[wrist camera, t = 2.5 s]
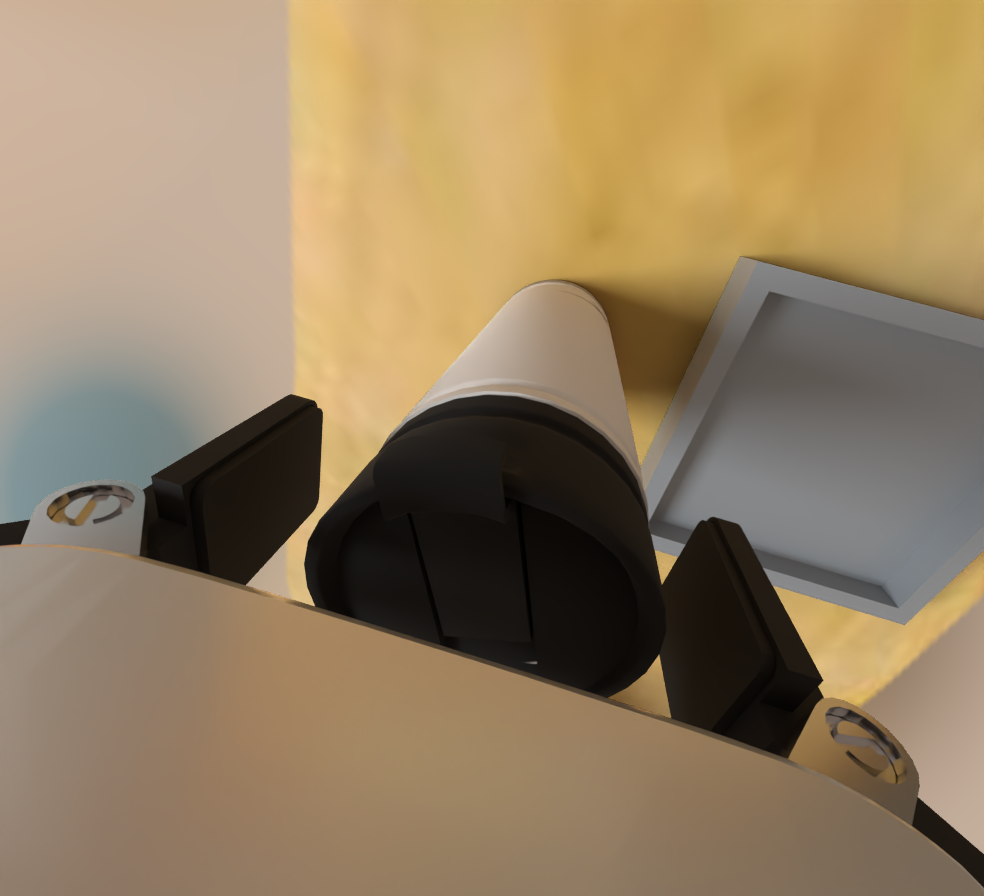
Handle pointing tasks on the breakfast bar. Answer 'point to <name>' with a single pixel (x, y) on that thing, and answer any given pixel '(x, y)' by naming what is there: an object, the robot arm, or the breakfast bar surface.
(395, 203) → the breakfast bar surface
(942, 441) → the tray
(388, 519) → the travel mug
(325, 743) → the robot arm
